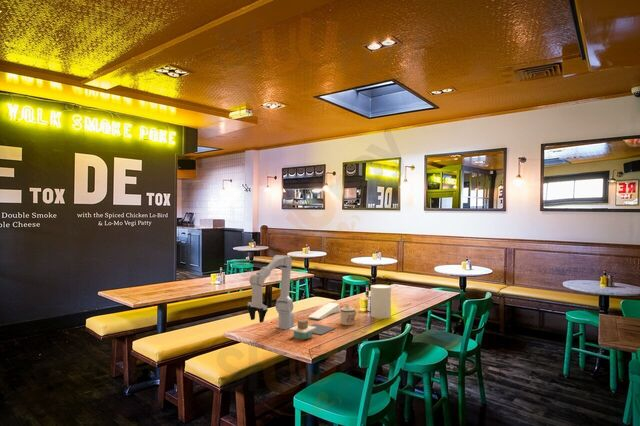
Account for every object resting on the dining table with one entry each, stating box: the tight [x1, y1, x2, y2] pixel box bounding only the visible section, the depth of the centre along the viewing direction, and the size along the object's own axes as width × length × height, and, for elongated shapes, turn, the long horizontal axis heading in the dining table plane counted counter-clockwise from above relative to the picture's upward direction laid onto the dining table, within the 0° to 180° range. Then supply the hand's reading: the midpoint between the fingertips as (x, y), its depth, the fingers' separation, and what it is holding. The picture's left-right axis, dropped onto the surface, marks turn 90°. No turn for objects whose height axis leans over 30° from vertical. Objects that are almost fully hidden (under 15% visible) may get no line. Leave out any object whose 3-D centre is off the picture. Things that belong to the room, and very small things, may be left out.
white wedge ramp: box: [307, 302, 341, 320], centre depth 265 cm, size 10×7×28 cm
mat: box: [310, 323, 336, 336], centre depth 230 cm, size 15×15×1 cm
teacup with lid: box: [339, 304, 357, 326], centre depth 244 cm, size 12×9×12 cm
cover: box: [288, 319, 316, 333], centre depth 217 cm, size 11×11×5 cm
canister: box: [370, 283, 392, 320], centre depth 261 cm, size 14×14×20 cm
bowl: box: [293, 331, 313, 340], centre depth 217 cm, size 10×10×4 cm
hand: (257, 320), depth 213 cm, fingers open, 7 cm apart
